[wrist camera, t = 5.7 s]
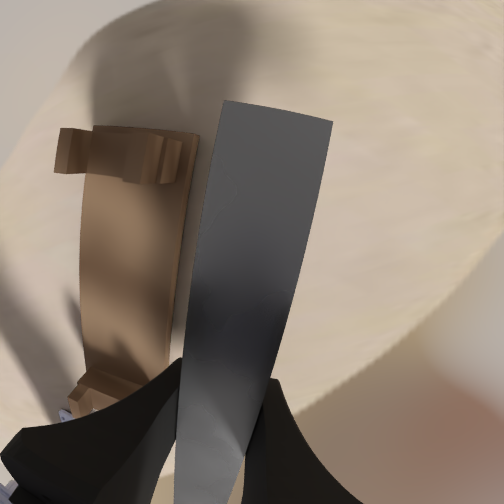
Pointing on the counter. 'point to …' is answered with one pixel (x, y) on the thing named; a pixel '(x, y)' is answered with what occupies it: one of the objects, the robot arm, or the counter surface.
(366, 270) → the counter surface
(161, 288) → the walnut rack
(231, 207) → the graphite rail
